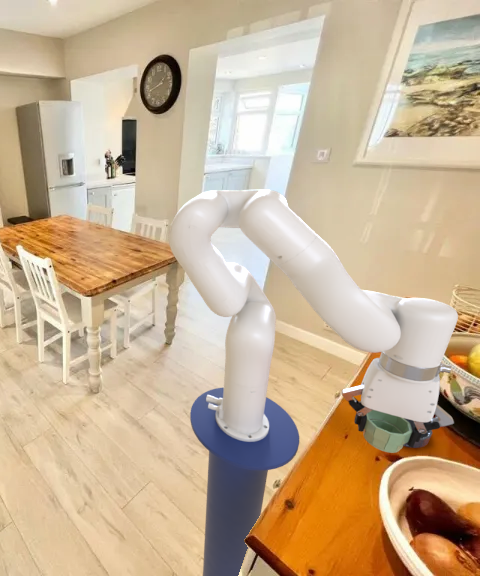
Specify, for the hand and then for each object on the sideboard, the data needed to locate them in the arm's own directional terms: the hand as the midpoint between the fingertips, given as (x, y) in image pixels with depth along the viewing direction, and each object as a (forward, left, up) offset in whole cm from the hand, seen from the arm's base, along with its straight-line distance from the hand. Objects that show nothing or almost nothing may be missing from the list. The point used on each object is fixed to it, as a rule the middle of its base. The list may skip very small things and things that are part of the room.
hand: (383, 433), depth 63 cm
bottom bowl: (+5, +11, -7) cm, 14 cm away
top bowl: (0, 0, -2) cm, 2 cm away
